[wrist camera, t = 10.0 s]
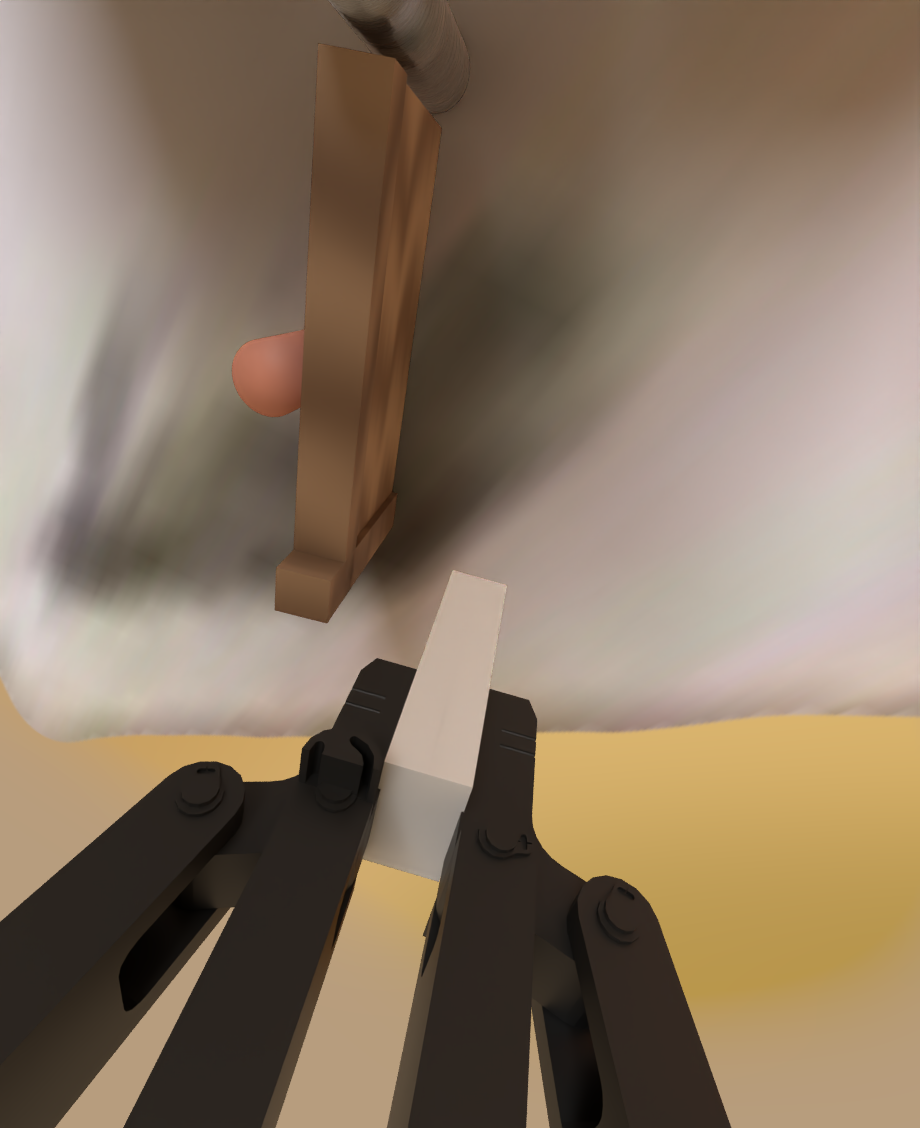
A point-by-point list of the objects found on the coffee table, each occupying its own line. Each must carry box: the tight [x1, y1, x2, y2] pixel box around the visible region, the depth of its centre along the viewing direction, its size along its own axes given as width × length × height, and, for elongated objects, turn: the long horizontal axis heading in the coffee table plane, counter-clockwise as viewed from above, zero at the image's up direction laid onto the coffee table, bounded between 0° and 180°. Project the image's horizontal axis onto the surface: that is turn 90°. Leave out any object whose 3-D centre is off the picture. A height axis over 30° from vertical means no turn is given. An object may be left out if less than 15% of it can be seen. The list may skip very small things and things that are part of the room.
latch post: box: [232, 330, 304, 417], centre depth 25 cm, size 3×3×7 cm
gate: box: [275, 43, 442, 623], centre depth 23 cm, size 18×2×10 cm, turn 169°
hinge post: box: [328, 0, 470, 113], centre depth 17 cm, size 3×3×12 cm
